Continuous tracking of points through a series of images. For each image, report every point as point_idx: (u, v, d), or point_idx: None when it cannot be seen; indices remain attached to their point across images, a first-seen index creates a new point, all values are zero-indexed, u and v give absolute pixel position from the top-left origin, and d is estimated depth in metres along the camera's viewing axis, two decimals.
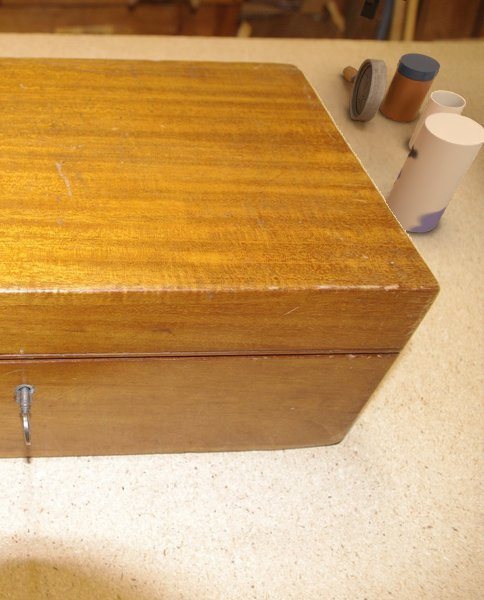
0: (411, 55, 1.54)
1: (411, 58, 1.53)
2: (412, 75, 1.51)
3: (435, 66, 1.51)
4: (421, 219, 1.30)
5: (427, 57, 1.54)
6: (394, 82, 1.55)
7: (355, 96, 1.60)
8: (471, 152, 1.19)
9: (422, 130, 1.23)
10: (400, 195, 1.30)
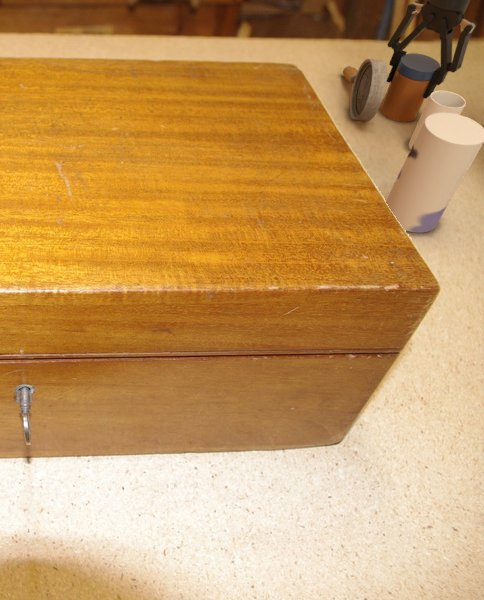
0: (411, 55, 1.54)
1: (411, 58, 1.53)
2: (412, 75, 1.51)
3: (435, 66, 1.51)
4: (421, 219, 1.30)
5: (427, 57, 1.54)
6: (394, 82, 1.55)
7: (355, 96, 1.60)
8: (470, 152, 1.19)
9: (422, 130, 1.23)
10: (400, 195, 1.30)
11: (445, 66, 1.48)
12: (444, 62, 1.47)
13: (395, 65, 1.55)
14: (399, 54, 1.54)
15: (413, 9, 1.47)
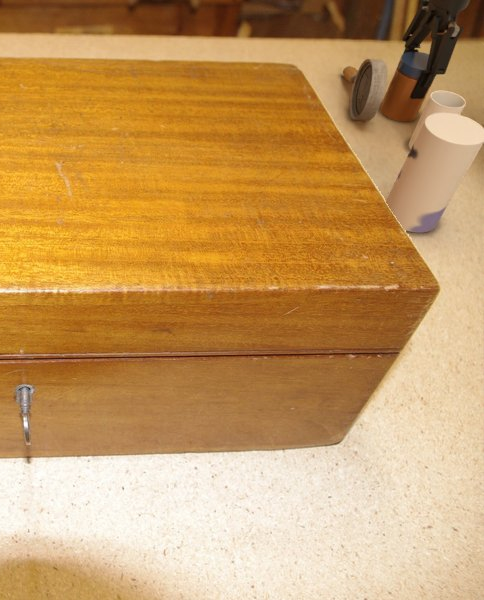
0: (420, 67, 1.50)
1: (424, 65, 1.50)
2: None
3: (411, 53, 1.54)
4: (421, 219, 1.30)
5: (407, 60, 1.52)
6: (394, 82, 1.55)
7: (355, 96, 1.60)
8: (470, 152, 1.19)
9: (422, 130, 1.23)
10: (400, 195, 1.30)
11: None
12: None
13: None
14: None
15: None
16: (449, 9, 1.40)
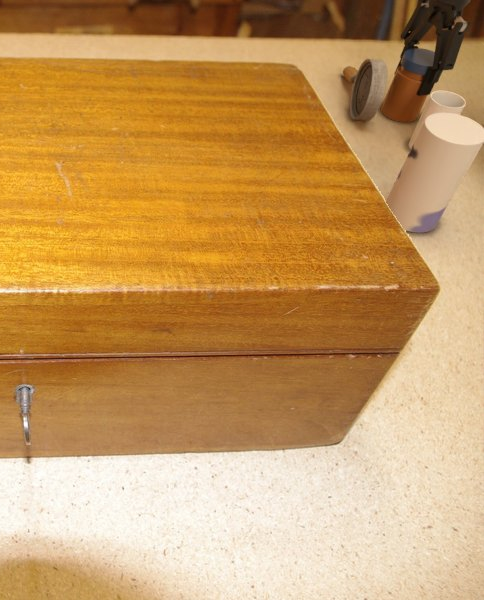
0: (426, 63, 1.49)
1: (429, 61, 1.50)
2: None
3: (412, 50, 1.53)
4: (421, 219, 1.30)
5: (411, 58, 1.51)
6: (395, 83, 1.55)
7: (355, 96, 1.60)
8: (470, 152, 1.19)
9: (422, 130, 1.23)
10: (400, 195, 1.30)
11: None
12: None
13: None
14: None
15: None
16: (455, 5, 1.39)
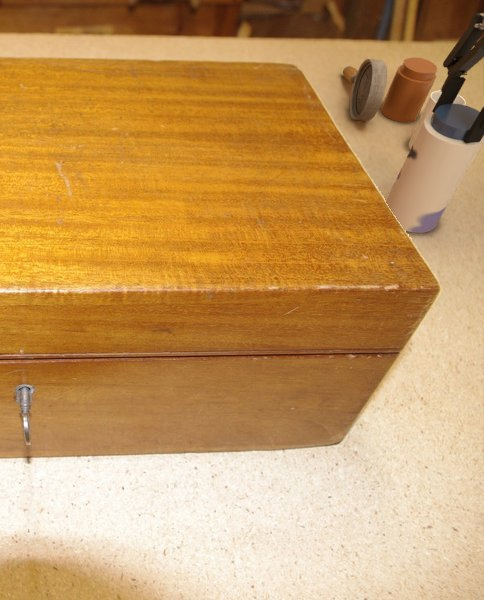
0: (463, 126, 1.18)
1: (467, 123, 1.18)
2: None
3: (445, 107, 1.22)
4: (421, 219, 1.30)
5: (444, 118, 1.19)
6: (395, 83, 1.55)
7: (355, 96, 1.60)
8: (470, 152, 1.19)
9: (421, 131, 1.23)
10: (400, 195, 1.30)
11: None
12: None
13: None
14: None
15: None
16: None
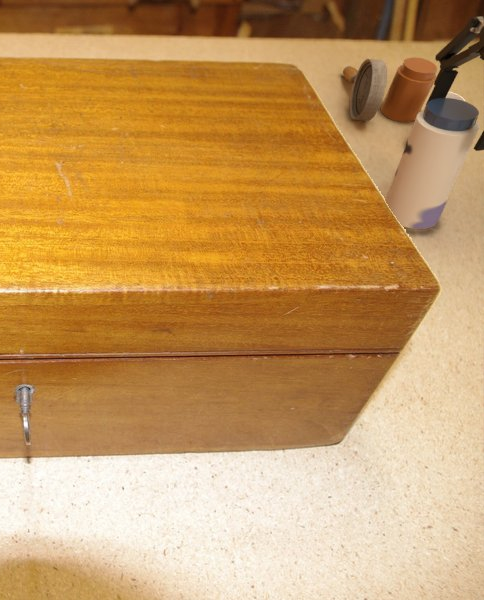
0: (456, 117, 1.18)
1: (460, 114, 1.19)
2: None
3: (437, 101, 1.23)
4: (422, 215, 1.30)
5: (436, 110, 1.20)
6: (395, 83, 1.55)
7: (355, 96, 1.60)
8: (464, 143, 1.20)
9: (414, 125, 1.24)
10: (398, 192, 1.30)
11: None
12: None
13: None
14: None
15: None
16: None
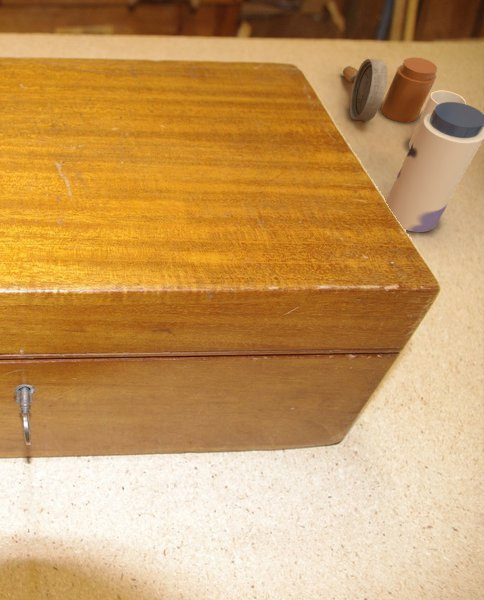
0: (463, 123, 1.18)
1: (467, 120, 1.19)
2: None
3: (445, 105, 1.22)
4: (422, 218, 1.30)
5: (444, 116, 1.20)
6: (395, 83, 1.55)
7: (355, 96, 1.60)
8: (470, 150, 1.19)
9: (421, 129, 1.23)
10: (400, 194, 1.30)
11: None
12: None
13: None
14: None
15: None
16: None
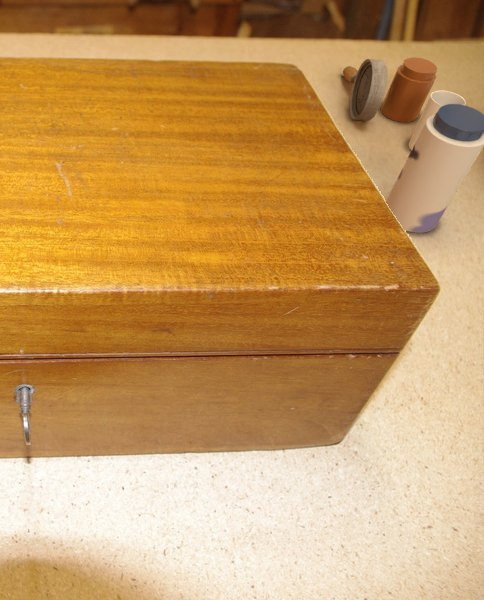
0: (466, 127, 1.17)
1: (470, 124, 1.18)
2: None
3: (448, 107, 1.21)
4: (422, 219, 1.30)
5: (447, 119, 1.19)
6: (395, 83, 1.55)
7: (355, 96, 1.60)
8: (472, 153, 1.19)
9: (423, 131, 1.22)
10: (401, 195, 1.30)
11: None
12: None
13: None
14: None
15: None
16: None
